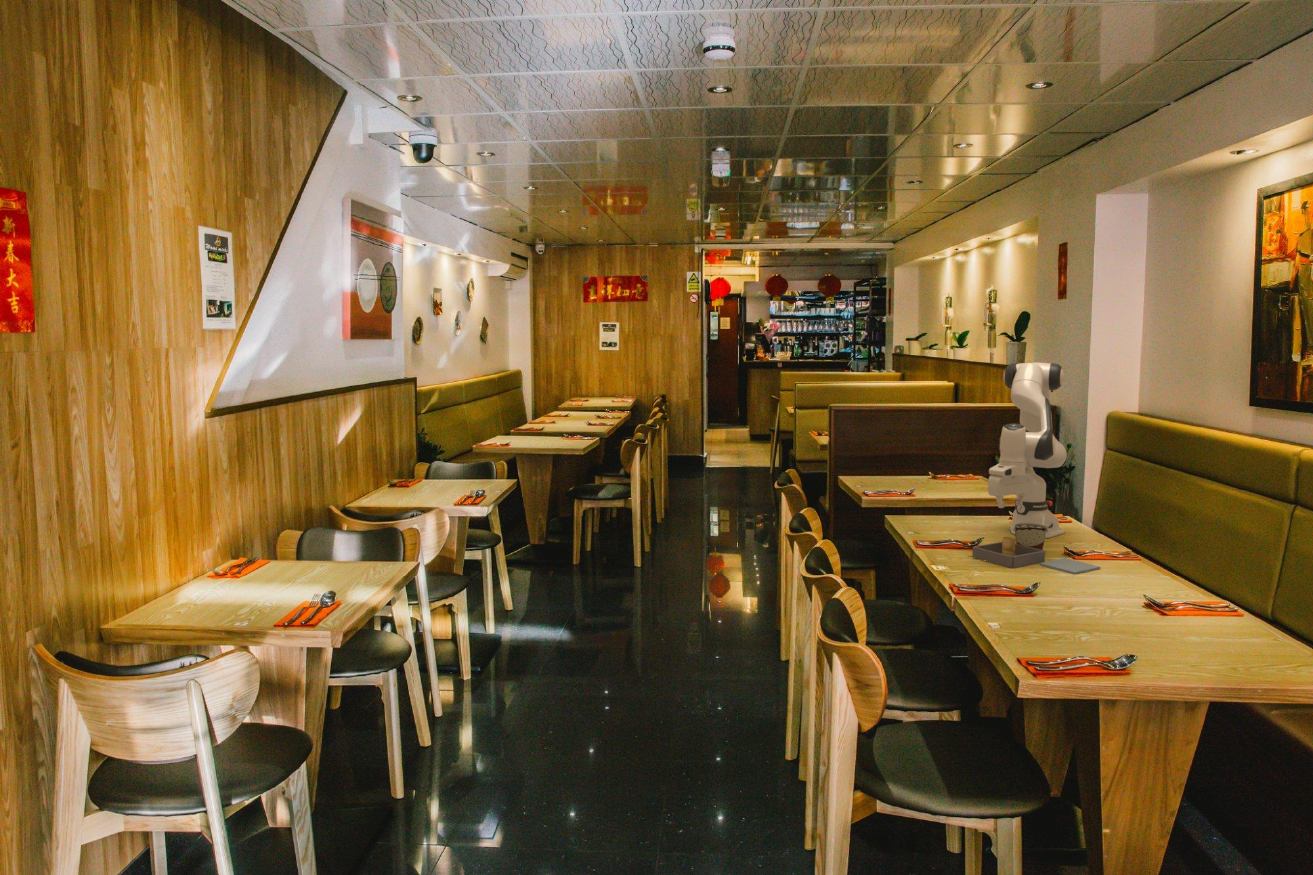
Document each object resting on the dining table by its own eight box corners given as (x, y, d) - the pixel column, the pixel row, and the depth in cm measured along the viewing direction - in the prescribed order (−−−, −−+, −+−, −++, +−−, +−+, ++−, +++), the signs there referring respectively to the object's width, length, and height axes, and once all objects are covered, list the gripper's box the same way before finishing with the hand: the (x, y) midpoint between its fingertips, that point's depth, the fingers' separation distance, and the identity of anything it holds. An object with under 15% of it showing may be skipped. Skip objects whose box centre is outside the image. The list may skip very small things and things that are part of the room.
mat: (1065, 560, 322) (1065, 558, 322) (1100, 569, 310) (1100, 566, 310) (1039, 565, 316) (1039, 563, 316) (1074, 574, 304) (1074, 572, 303)
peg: (1007, 557, 327) (1008, 536, 326) (1017, 560, 323) (1018, 538, 322) (999, 559, 325) (999, 537, 324) (1009, 561, 321) (1009, 540, 320)
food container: (1041, 548, 340) (1042, 523, 339) (1046, 552, 334) (1047, 526, 333) (1008, 547, 341) (1009, 522, 340) (1012, 551, 335) (1014, 525, 334)
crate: (1004, 551, 336) (1005, 541, 335) (1045, 561, 320) (1046, 551, 320) (971, 557, 327) (971, 546, 327) (1011, 568, 312) (1012, 557, 311)
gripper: (1023, 465, 328) (1022, 502, 329) (985, 469, 318) (983, 507, 319) (1038, 468, 322) (1036, 505, 324) (1000, 471, 312) (998, 510, 314)
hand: (1010, 506), depth 321 cm, fingers open, 8 cm apart
